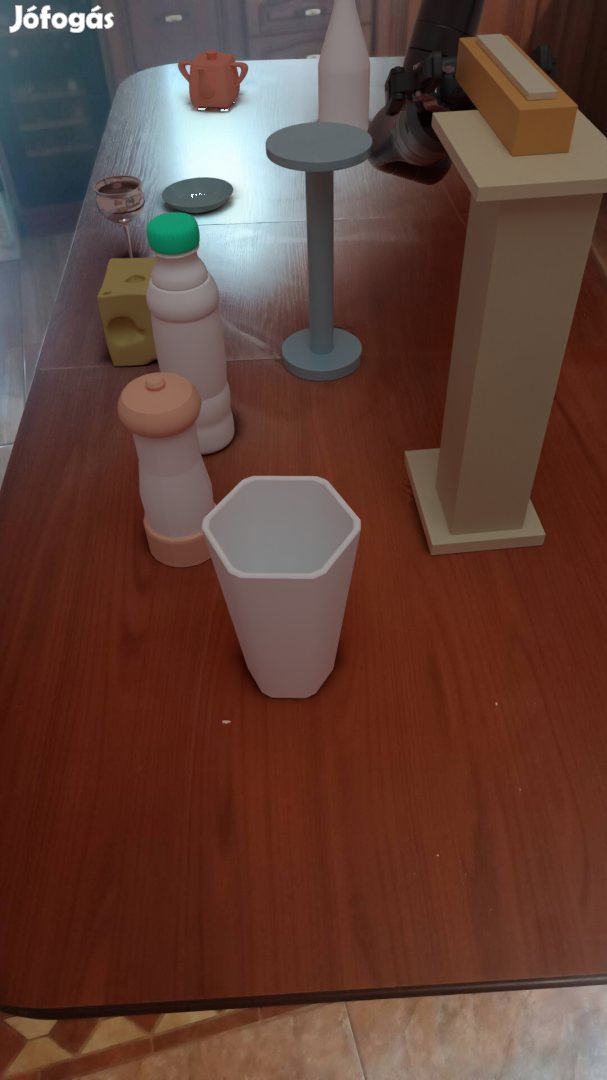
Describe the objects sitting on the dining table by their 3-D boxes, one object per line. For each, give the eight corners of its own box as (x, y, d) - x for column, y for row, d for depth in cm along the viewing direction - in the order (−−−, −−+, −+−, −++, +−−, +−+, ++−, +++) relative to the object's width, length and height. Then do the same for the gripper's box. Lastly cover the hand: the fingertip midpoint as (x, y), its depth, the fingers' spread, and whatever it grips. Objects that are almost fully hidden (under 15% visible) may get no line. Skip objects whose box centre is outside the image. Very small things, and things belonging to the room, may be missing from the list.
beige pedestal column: (403, 461, 86) (432, 112, 61) (503, 452, 87) (572, 103, 62) (430, 555, 77) (478, 187, 52) (543, 545, 77) (644, 175, 52)
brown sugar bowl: (177, 101, 170) (170, 46, 162) (229, 91, 173) (224, 37, 166) (203, 121, 161) (196, 65, 153) (256, 110, 164) (253, 55, 157)
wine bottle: (308, 133, 154) (304, -58, 133) (343, 120, 159) (345, -67, 137) (343, 146, 149) (344, -51, 128) (378, 132, 154) (386, -60, 132)
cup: (355, 618, 72) (360, 475, 59) (356, 717, 65) (361, 578, 52) (231, 617, 72) (210, 474, 60) (219, 715, 65) (192, 576, 53)
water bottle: (190, 413, 93) (155, 199, 76) (245, 425, 92) (223, 209, 74) (161, 449, 89) (117, 231, 71) (218, 463, 87) (188, 242, 69)
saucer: (160, 222, 129) (158, 208, 127) (166, 191, 137) (164, 178, 136) (233, 219, 129) (232, 204, 128) (235, 188, 137) (234, 175, 136)
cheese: (193, 366, 100) (182, 293, 93) (107, 369, 100) (90, 296, 93) (200, 322, 107) (190, 251, 100) (120, 325, 108) (105, 254, 100)
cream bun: (454, 78, 67) (459, 30, 64) (502, 75, 67) (508, 27, 64) (511, 156, 55) (520, 101, 52) (568, 152, 55) (580, 97, 53)
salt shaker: (237, 540, 79) (217, 376, 65) (179, 579, 76) (144, 416, 62) (191, 504, 83) (162, 343, 69) (134, 541, 79) (91, 378, 65)
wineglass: (100, 267, 119) (82, 185, 110) (137, 251, 122) (122, 170, 114) (128, 282, 116) (111, 199, 107) (165, 265, 119) (152, 183, 110)
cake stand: (358, 331, 105) (364, 118, 86) (371, 379, 97) (381, 157, 78) (274, 338, 104) (262, 125, 86) (281, 387, 97) (269, 165, 78)
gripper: (369, 73, 77) (400, 12, 62) (514, 64, 78) (581, 2, 62) (373, 158, 79) (404, 120, 64) (514, 148, 80) (579, 108, 64)
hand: (491, 61), depth 63 cm, fingers open, 8 cm apart
